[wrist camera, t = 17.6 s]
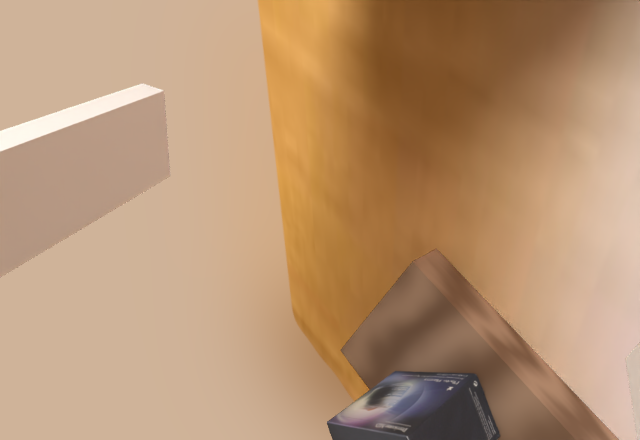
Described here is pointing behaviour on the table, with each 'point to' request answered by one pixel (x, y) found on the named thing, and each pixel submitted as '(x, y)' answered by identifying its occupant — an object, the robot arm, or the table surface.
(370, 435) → the small box
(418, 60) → the table surface
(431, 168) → the table surface
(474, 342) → the base brick
